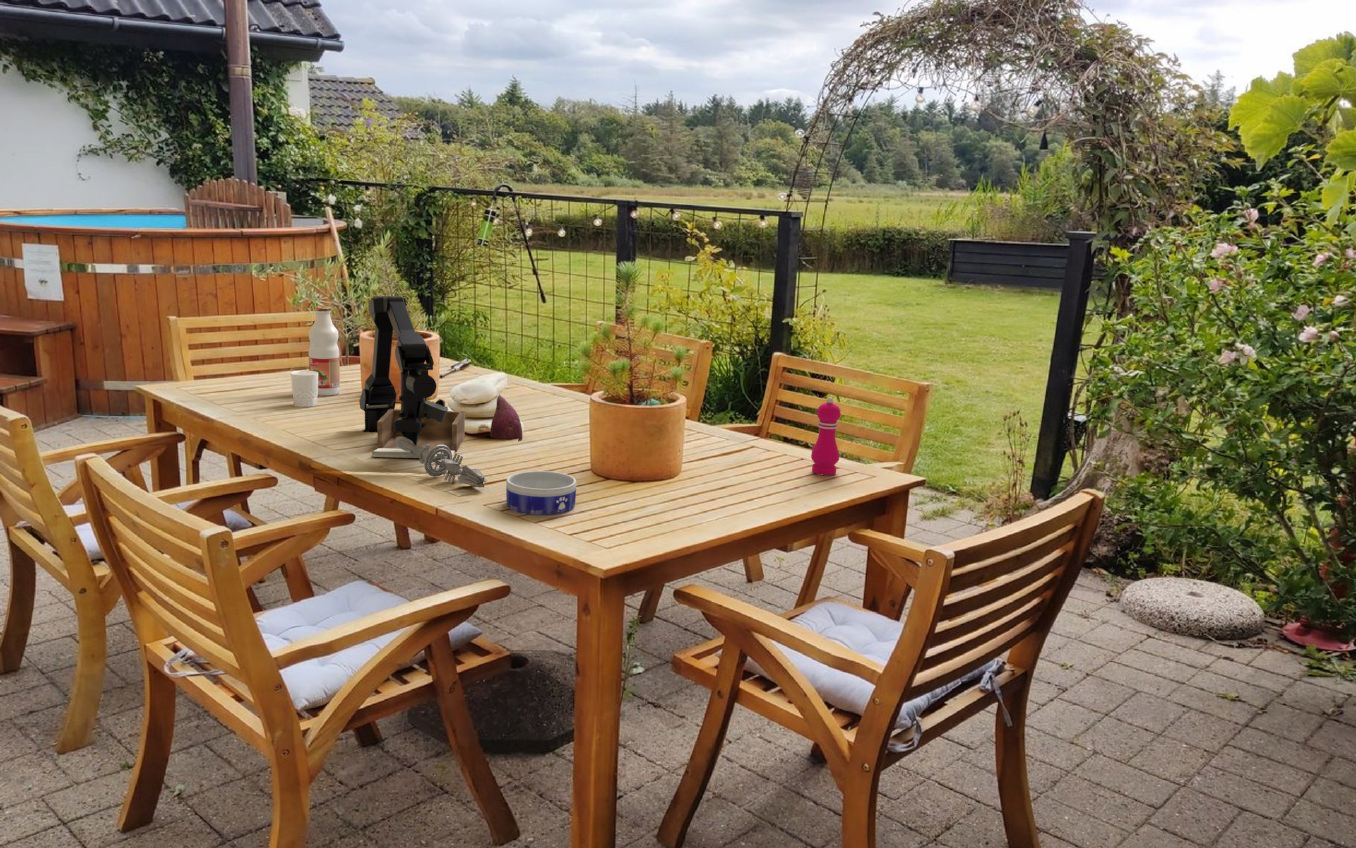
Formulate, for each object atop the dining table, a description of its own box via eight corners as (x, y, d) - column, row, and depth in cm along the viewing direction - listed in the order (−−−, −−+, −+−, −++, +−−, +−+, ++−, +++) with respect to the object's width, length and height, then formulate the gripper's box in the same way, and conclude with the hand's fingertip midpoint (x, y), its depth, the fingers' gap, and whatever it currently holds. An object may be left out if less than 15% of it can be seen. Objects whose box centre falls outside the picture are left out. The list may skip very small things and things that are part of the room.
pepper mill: (820, 477, 263) (826, 400, 258) (804, 470, 269) (810, 395, 264) (843, 475, 266) (850, 399, 262) (827, 468, 272) (833, 393, 268)
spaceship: (413, 428, 259) (388, 420, 252) (502, 470, 237) (478, 463, 231) (401, 457, 258) (376, 450, 252) (489, 503, 237) (464, 496, 231)
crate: (377, 452, 265) (377, 421, 263) (390, 437, 280) (389, 409, 278) (456, 454, 266) (456, 424, 265) (464, 440, 282) (464, 411, 280)
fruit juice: (344, 394, 333) (342, 308, 327) (315, 397, 328) (312, 309, 321) (334, 389, 340) (332, 305, 334) (305, 391, 335) (303, 305, 329)
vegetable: (485, 448, 285) (471, 402, 283) (505, 438, 293) (492, 393, 290) (511, 445, 281) (498, 398, 278) (531, 435, 288) (518, 389, 286)
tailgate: (378, 452, 264) (372, 456, 256) (378, 448, 263) (372, 451, 256) (454, 455, 265) (450, 459, 258) (454, 450, 265) (450, 454, 258)
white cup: (324, 405, 317) (323, 373, 314) (303, 408, 310) (302, 376, 308) (307, 401, 321) (306, 369, 319) (286, 404, 314) (285, 372, 312)
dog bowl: (546, 492, 238) (546, 466, 237) (589, 507, 228) (590, 481, 226) (491, 503, 227) (492, 477, 226) (535, 520, 217) (536, 493, 216)
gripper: (440, 399, 247) (440, 462, 250) (450, 385, 265) (450, 445, 268) (392, 397, 246) (393, 461, 249) (406, 384, 264) (407, 443, 267)
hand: (413, 452), depth 259 cm, fingers closed, pressing on tailgate
